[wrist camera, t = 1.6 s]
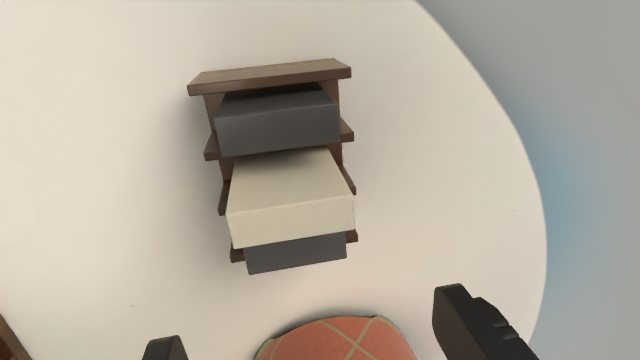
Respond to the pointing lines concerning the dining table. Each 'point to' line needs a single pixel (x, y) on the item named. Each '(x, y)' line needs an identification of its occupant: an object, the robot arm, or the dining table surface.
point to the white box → (287, 197)
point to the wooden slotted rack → (10, 344)
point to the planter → (340, 341)
